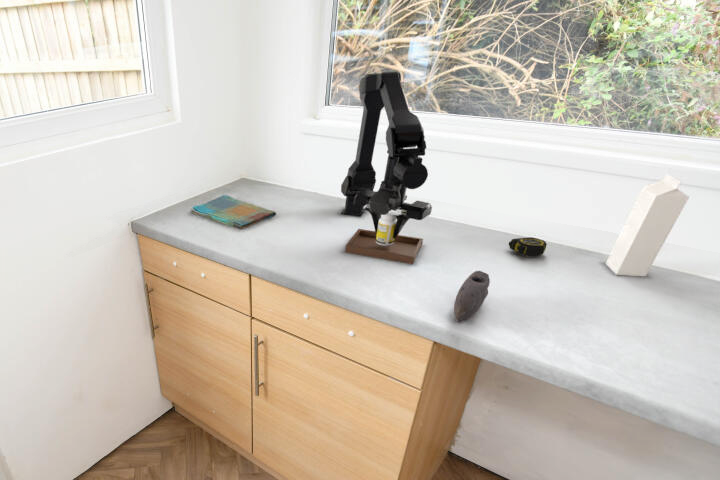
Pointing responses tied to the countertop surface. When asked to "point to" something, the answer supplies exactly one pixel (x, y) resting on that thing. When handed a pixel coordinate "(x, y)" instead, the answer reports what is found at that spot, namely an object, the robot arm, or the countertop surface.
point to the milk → (647, 227)
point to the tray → (384, 247)
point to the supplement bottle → (386, 228)
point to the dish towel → (232, 212)
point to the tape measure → (528, 246)
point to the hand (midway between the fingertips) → (385, 235)
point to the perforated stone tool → (471, 295)
